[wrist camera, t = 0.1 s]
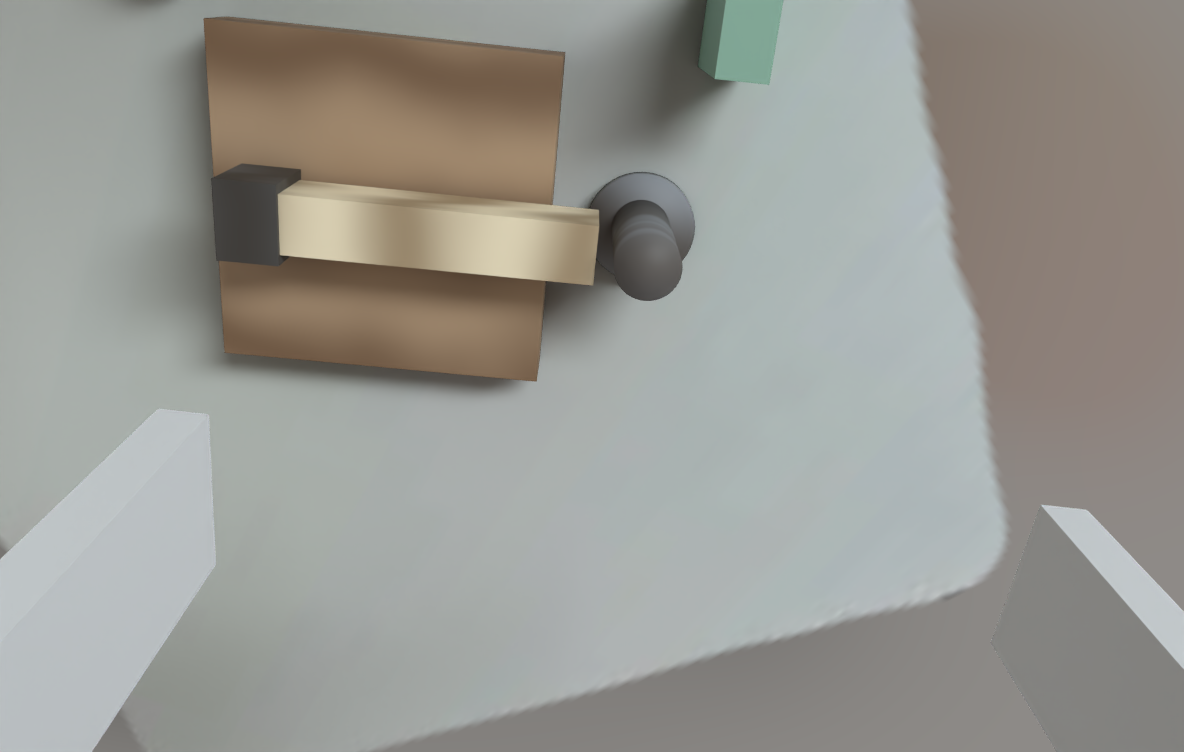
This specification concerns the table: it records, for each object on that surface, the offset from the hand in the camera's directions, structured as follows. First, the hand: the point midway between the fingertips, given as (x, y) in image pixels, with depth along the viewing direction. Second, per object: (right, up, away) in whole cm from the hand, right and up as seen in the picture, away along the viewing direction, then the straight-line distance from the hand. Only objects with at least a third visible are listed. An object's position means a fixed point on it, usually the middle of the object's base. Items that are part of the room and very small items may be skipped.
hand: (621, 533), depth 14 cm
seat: (-6, +10, +26) cm, 29 cm away
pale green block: (+5, +17, +23) cm, 29 cm away
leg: (-8, +9, +23) cm, 26 cm away
